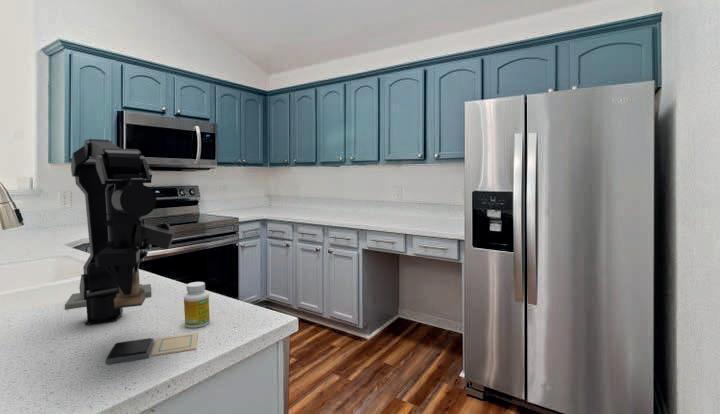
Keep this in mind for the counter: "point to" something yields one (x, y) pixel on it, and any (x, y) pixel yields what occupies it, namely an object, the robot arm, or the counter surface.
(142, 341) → the ink pad
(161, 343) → the card
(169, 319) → the counter surface
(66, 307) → the soap mold
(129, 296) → the stamp
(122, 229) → the robot arm
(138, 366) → the counter surface
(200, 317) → the supplement bottle
